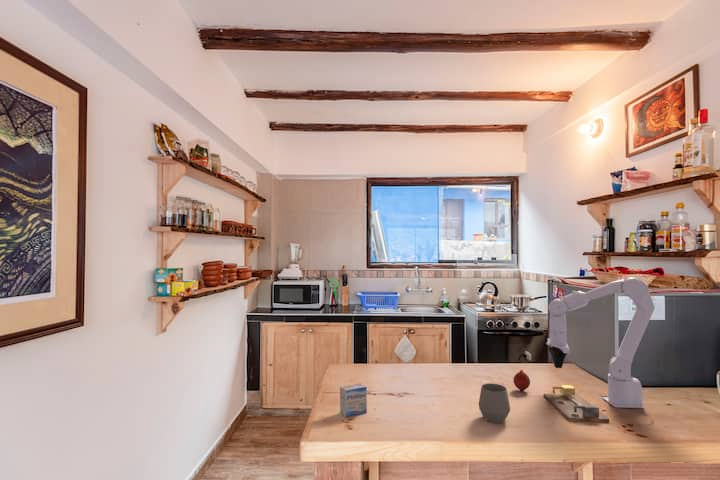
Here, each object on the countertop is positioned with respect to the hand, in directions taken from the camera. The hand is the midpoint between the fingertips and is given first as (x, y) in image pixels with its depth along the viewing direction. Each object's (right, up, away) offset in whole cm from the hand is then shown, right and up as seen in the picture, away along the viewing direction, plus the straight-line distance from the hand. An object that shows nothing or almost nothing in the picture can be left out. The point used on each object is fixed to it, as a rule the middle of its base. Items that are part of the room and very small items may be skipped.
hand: (558, 367), depth 146 cm
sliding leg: (-2, -7, -7) cm, 10 cm away
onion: (-13, -9, +1) cm, 16 cm away
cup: (-32, -9, -23) cm, 40 cm away
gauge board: (-2, -9, -15) cm, 18 cm away
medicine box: (-77, -9, -18) cm, 79 cm away
